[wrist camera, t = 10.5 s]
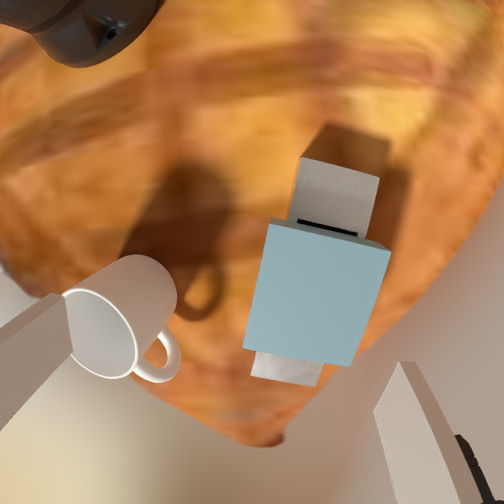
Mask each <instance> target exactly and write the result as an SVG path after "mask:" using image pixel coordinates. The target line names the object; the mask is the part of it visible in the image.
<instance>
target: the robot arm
mask: <svg viewBox="0 0 504 504" xmlns="http://www.w3.org/2000/svg"><path fill="white" fill-rule="evenodd" d="M159 1H160V0H0V23H2V24H5V25H8V26H11V27H14V28H17V29H20V30H23V31H25V32H27V33H30V34H31V35H32V36H33V37H34V38H35V39H36V41H37V42H38V43H39V44H40V45H41V47H42V48H43V49H44V50H45V51H46V52H47V54H48V55H49V56H50V57H51V58H52V59H54V60H55V61H57V62H59V63H62V64H64V65H67V66H69V67H74V68H84V67H89V66H93V65H96V64H99V63H101V62H103V61H105V60H107V59H109V58H111V57H112V56H114V55H116V54H117V53H119V52H120V51H121V50H123V49H124V48H125V47H126V46H128V45H129V44H130V43H131V42H132V41H133V40H134V39H135V38H136V37H137V36H138V35H139V34H140V33H141V32H142V31H143V29H144V28H145V27H146V26H147V24H148V23H149V21H150V20H151V18H152V17H153V15H154V13H155V11H156V9H157V7H158V4H159ZM72 352H73V347H72V342H71V336H70V331H69V324H68V318H67V311H66V303H65V297H64V296H61V295H58V294H55V293H50V294H49V295H47V296H46V297H44V298H43V299H41V300H40V301H38V302H37V303H35V304H34V305H32V306H31V307H30V308H28V309H27V310H25V311H24V312H22V313H21V314H19V315H18V316H17V317H15V318H14V319H12V320H11V321H10V322H9V323H7V324H6V325H4V326H3V327H2V328H0V431H1V430H2V429H3V427H4V426H5V425H6V424H7V423H8V422H9V420H10V419H11V418H12V417H13V416H14V415H15V414H16V412H17V411H18V410H19V409H20V408H21V407H22V406H23V404H24V403H25V402H26V401H27V400H28V399H29V398H30V397H31V396H32V395H33V394H34V392H35V391H36V390H37V389H38V388H39V387H40V386H41V385H42V384H43V383H44V382H45V380H46V379H47V378H48V377H49V376H50V375H51V374H52V373H53V372H54V371H55V370H56V369H57V368H58V367H59V365H61V364H62V362H64V361H65V359H66V358H67V357H68V356H69V355H70V354H71V353H72ZM373 414H374V418H375V421H376V424H377V428H378V431H379V435H380V439H381V442H382V446H383V450H384V453H385V457H386V461H387V465H388V469H389V473H390V477H391V481H392V485H393V489H394V493H395V497H396V502H397V504H504V501H501V500H497V501H495V499H494V497H493V496H492V493H491V491H490V488H489V486H488V484H487V481H486V479H485V477H484V475H483V472H482V470H481V468H480V466H478V461H477V459H476V458H474V453H473V451H472V449H471V447H470V445H469V443H468V442H467V441H466V440H465V439H464V438H463V437H462V436H461V435H460V434H459V435H454V434H453V432H452V430H451V428H450V426H449V424H448V422H447V420H446V418H445V416H444V414H443V412H442V410H441V408H440V406H439V405H438V403H437V401H436V399H435V397H434V395H433V393H432V391H431V390H430V388H429V386H428V384H427V382H426V380H425V379H424V377H423V375H422V373H421V371H420V370H419V368H418V366H417V365H416V363H415V362H407V361H406V362H404V361H399V362H398V364H397V366H396V368H395V370H394V372H393V374H392V376H391V378H390V380H389V382H388V384H387V386H386V388H385V390H384V392H383V394H382V396H381V398H380V400H379V402H378V403H377V405H376V407H375V409H374V411H373Z"/></svg>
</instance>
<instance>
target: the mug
mask: <svg viewBox="0 0 504 504" xmlns="http://www.w3.org/2000/svg"><path fill="white" fill-rule="evenodd" d="M61 296H64V297H65V303H66V311H67V318H68V324H69V331H70V336H71V342H72V347H73V352H72V353H71V354H70V355H71V356H72V357H73V358H74V359H75V360H76V361H77V362H78V363H79V364H80V365H81V366H82V367H84V368H85V369H87V370H88V371H90V372H92V373H94V374H96V375H98V376H101V377H105V378H112V379H115V378H121V377H124V376H126V375H128V374H129V373H131V372H132V371H134V372H135V373H136V374H137V375H139V376H140V377H142V378H144V379H146V380H149V381H152V382H157V383H159V382H165V381H169V380H170V379H172V378H173V377H174V376H175V375H176V374H177V372H178V370H179V368H180V363H181V353H180V348H179V345H178V343H177V341H176V339H175V337H174V336H173V334H172V333H171V331H170V330H169V329H168V328H167V326H166V324H167V323H168V321H169V320H170V318H171V317H172V315H173V313H174V311H175V308H176V304H177V291H176V287H175V284H174V281H173V279H172V277H171V275H170V274H169V272H168V271H167V270H166V269H165V267H164V266H162V265H161V264H160V263H159V262H157V261H156V260H154V259H152V258H150V257H148V256H144V255H139V254H134V255H128V256H125V257H122V258H120V259H118V260H116V261H115V262H113V263H111V264H110V265H108V266H106V267H104V268H103V269H101V270H99V271H98V272H96V273H94V274H93V275H91V276H89V277H88V278H86V279H84V280H83V281H81V282H80V283H78V284H76V285H75V286H73V287H71V288H70V289H68V290H67V291H65V292H64V293H63V294H62V295H61ZM157 337H158V338H159V339H160V340H161V341H162V343H163V344H164V346H165V348H166V350H167V353H168V361H167V364H166V365H165V366H164V367H162V368H157V367H155V366H153V365H151V364H150V363H149V362H148V361H147V360H146V359H145V358H144V357H143V356H144V354H145V353H146V351H147V350H148V349H149V347H150V346H151V345H152V343H153V342H154V341H155V339H156V338H157Z"/></svg>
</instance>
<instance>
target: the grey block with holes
mask: <svg viewBox="0 0 504 504" xmlns="http://www.w3.org/2000/svg"><path fill="white" fill-rule="evenodd" d="M379 180H380V177H377V176H373V175H370V174H366V173H363V172H359V171H356V170H352V169H348V168H344V167H341V166H337V165H333V164H329V163H325V162H321V161H317V160H313V159H308V158H304V157H301V158H300V159H298V164H297V169H296V174H295V179H294V183H293V188H292V193H291V197H290V202H289V207H288V211H287V216H286V221H290V222H295V223H297V219H302V220H306V221H311V222H315V223H319V224H324V225H328V226H332V227H336V228H341V229H345V230H346V234H347V235H351V236H355V237H359V238H363V239H365V238H366V234H367V230H368V226H369V222H370V218H371V214H372V210H373V206H374V202H375V198H376V193H377V189H378V184H379ZM323 365H324V363H320V362H313V361H307V360H301V359H296V358H290V357H285V356H279V355H274V354H269V353H264V352H259V351H255V352H254V357H253V363H252V369H251V375H252V376H257V377H262V378H267V379H272V380H278V381H283V382H289V383H295V384H301V385H308V386H315V385H316V383H317V380H318V378H319V375H320V373H321V370H322V368H323Z"/></svg>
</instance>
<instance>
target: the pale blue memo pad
mask: <svg viewBox="0 0 504 504" xmlns="http://www.w3.org/2000/svg"><path fill="white" fill-rule="evenodd" d="M390 255H391V251H390V250H388V249H387V248H386V247H384V246H383V245H382V244H381V243H379V242H375V241H371V240H367V239H363V238H359V237H355V236H351V235H347V234H343V233H338V232H334V231H330V230H326V229H321V228H317V227H313V226H308V225H304V224H299V223H295V222H290V221H286V220H281V219H277V218H272V217H271V219H270V223H269V228H268V232H267V237H266V242H265V247H264V251H263V256H262V260H261V265H260V270H259V274H258V279H257V284H256V288H255V293H254V297H253V302H252V306H251V311H250V315H249V320H248V324H247V329H246V333H245V338H244V342H243V347H242V348H245V349H250V350H254V351H259V352H264V353H269V354H274V355H279V356H285V357H290V358H296V359H301V360H307V361H313V362H320V363H326V364H333V365H340V366H347V367H350V365H351V363H352V360H353V358H354V356H355V353H356V351H357V349H358V346H359V344H360V341H361V339H362V336H363V334H364V331H365V329H366V326H367V323H368V321H369V318H370V315H371V313H372V310H373V307H374V304H375V302H376V299H377V296H378V293H379V290H380V287H381V284H382V281H383V278H384V275H385V272H386V268H387V265H388V262H389V259H390Z"/></svg>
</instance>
